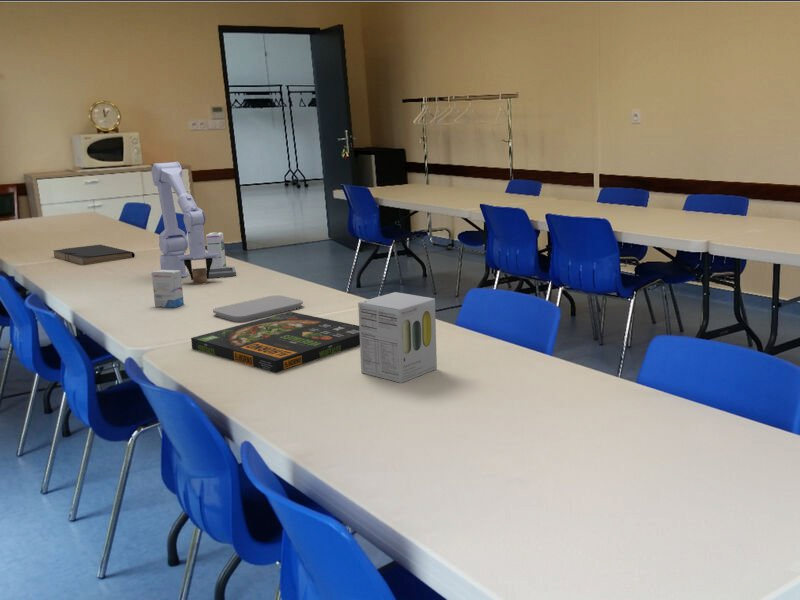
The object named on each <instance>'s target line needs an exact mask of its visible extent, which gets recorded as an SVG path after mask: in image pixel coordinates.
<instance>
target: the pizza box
mask: <svg viewBox="0 0 800 600" xmlns="http://www.w3.org/2000/svg"><path fill="white" fill-rule="evenodd" d="M190 340H191V349H192V350H194V351H199V352H201V353H202V352H203V353H206V354H209V355H212V356H215V357H216V356H217V357H219V358H223V359H227V360H230V361H234V362H237V363H241V364H244V365H247V366H251V367H254V368H258V369H261V370H265V371H268V372H271V373H275V374H277V373H281V372H284V371H286V370H289V369H293V368H296V367H299V366H301V365H305V364H307V363H310V362H313V361H317V360H319V359H322V358H326V357H328V356H332V355H335V354H337V353H340V352H344V351H346V350H349V349H354V348H356V347H358V346H359V347H360V332H359V324H358V325H356V324H352V323H347V322H342V321H338V320H334V319H328V318H324V317H323V318H322V317H320V316H319V317H318V316H314V315H313V316H312V315H309V314H303V313H299V312H293V311H286V312H282V313H279V314H275V315H271V316H267V317H266V318H262V319H261V318H260V319H258V320H254V321H253V320H252V321H250V322H246V323H243V324H239V325H235V326H231V327H227V328H225V329H220V330H216V331H212V332H209V333H204V334H200V335H198V336H192V337H191V338H190Z"/></svg>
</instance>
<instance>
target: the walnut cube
mask: <svg viewBox="0 0 800 600" xmlns="http://www.w3.org/2000/svg"><path fill="white" fill-rule="evenodd" d="M192 273H193V280H192V283H193V285H203V283H206V284H208V279H207V272H206V267H200V268H192Z"/></svg>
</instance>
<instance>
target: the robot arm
mask: <svg viewBox="0 0 800 600" xmlns="http://www.w3.org/2000/svg"><path fill="white" fill-rule="evenodd" d="M151 177H152V182H153V185H154V186H156V187H157V190H158V191H157V192H158V198H159V202H160V203H159V204H160V209H161V215H162V220H163V227H164V230H163V231H162V232H160V234H158V248H159V250H160V252H161V253H162V254H160V255H159V263H160V270H180V271H181V278H187V277H188V273H189V276H190V280H191V281H193V273H192V269H193V268H192V261H199V260H201V261H202V260H205V266H206V267H205V268H206V269H207V272H206V273H207V280H208V279H209V271H210V267H211V264H212V261H213V260H212V259H218V253H208V252H206V243H205V242H206V241H205V231H204V226H205V224H206V215H205V212H204V210H202V209H201V208H200V207H199V206H197V204H196V201H195V199H194V197H193V195H192V194H189V193H188V192H187V189H186V187H185V184H184V181H183V179H182V177H183V167H182V165H181V164H180V163H179V161H174V162H171V161H170V162H156V163H155V162H154V163H153V165H152V167H151ZM172 191H174V192H175V194H176V195H177V197H178V198H177V204H178V206H179V208H180V209H181V212H182V214H183V223H184V225H185V231H186V232H187V236H186V233H185V231H184V230H182V229H181V228H179V225H178V220H177V213H176V208H175V202H174V196H173V192H172ZM187 238H188V239H187ZM188 248H189V254H185V253H187V252H186V251H188ZM186 269H187V271H188V272H187V271H186ZM209 280H210V279H209Z"/></svg>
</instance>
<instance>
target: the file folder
mask: <svg viewBox="0 0 800 600" xmlns="http://www.w3.org/2000/svg"><path fill="white" fill-rule="evenodd" d="M53 256H54V258H56V259H60V260H62V261H68V262H70V263H75V264H78V265H81V266H87V265H95V264H100V263H101V264H102V263H109V262H113V261H114V262H115V261H120V260H127V259H132V258H135V256H136V255H135V253H134V252H133V251H130V250H125V249H122V248H121V249H120V248H118V247H113V246H107V245H104V244H93V245H85V246H77V247H76V246H75V247H68V248H62V249H54V250H53Z"/></svg>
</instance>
